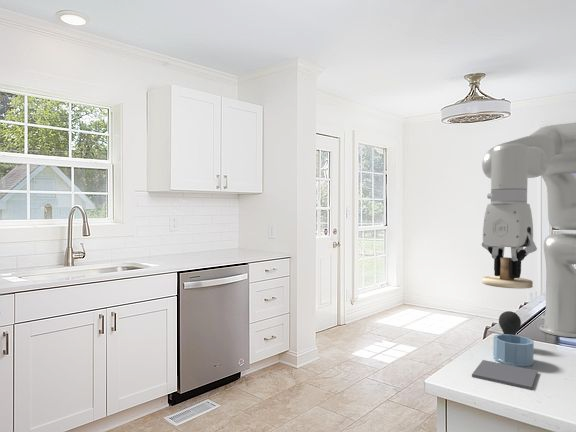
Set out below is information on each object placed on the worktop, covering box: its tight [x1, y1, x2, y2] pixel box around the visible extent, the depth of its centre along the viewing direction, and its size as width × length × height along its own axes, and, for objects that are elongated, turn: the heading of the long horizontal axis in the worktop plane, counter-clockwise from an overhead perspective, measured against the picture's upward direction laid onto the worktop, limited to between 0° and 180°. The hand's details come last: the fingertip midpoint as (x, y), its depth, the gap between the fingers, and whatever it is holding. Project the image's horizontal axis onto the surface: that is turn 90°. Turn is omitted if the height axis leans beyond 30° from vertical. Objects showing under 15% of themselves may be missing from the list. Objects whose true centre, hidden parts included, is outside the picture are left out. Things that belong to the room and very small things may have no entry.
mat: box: [471, 359, 538, 391], centre depth 100 cm, size 12×12×1 cm
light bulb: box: [498, 310, 522, 335], centre depth 122 cm, size 6×6×10 cm
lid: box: [482, 256, 534, 290], centre depth 100 cm, size 10×10×6 cm
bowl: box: [492, 333, 535, 368], centre depth 110 cm, size 9×9×6 cm
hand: (507, 276), depth 100 cm, fingers closed on lid, 3 cm apart
